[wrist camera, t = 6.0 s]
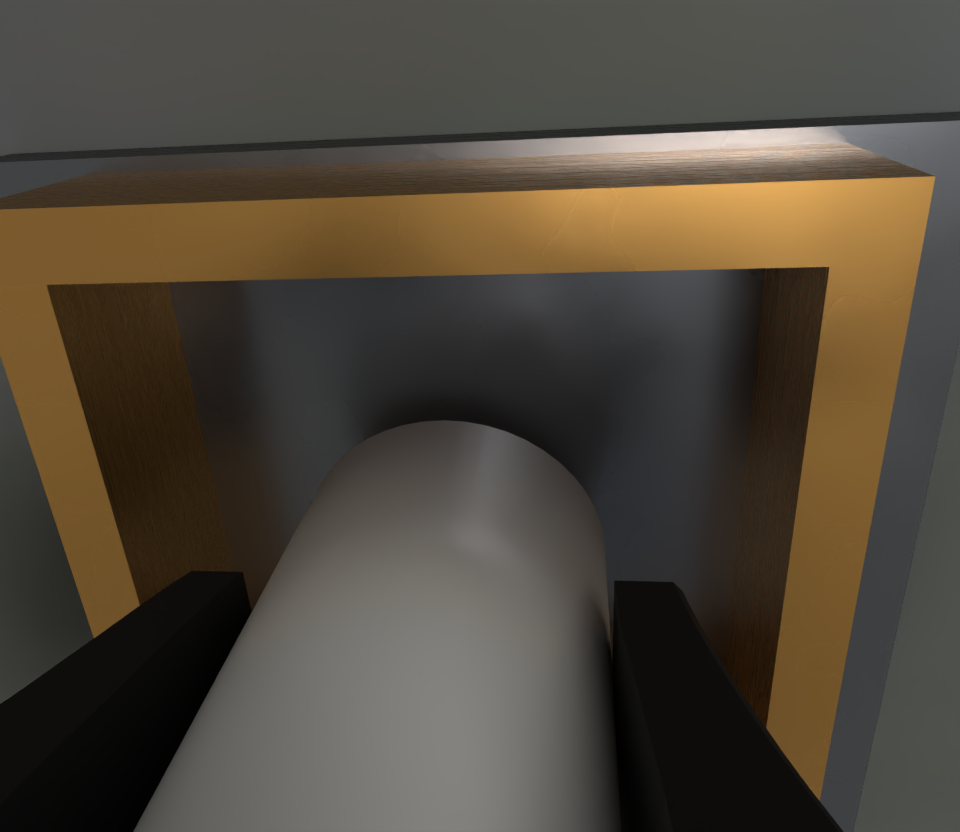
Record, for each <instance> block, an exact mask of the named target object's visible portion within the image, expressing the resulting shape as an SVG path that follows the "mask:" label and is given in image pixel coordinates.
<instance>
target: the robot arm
mask: <svg viewBox="0 0 960 832" xmlns="http://www.w3.org/2000/svg"><path fill="white" fill-rule="evenodd" d="M251 612H252V611H251V607H250V602H249V598H248V593H247V588H246V584H245V579H244V575H243V572H226V571H191V572H189V573H187V574H186V575H184V576H183V577H181V578H179V579H178V580H176V581H175V582H173V583H172V584H170V585H169V586H167V587H166V588H164V589H163V590H161V591H160V592H158V593H157V594H155V595H154V596H153V597H151V598H150V599H148V600H147V601H145V602H144V603H143V604H141V605H140V606H138V607H137V608H136V609H134V610H133V611H131V612H130V613H129V614H127V615H126V616H124V617H123V618H122V619H120V620H119V621H117V622H116V623H115V624H113V625H112V626H110V627H109V628H108V629H106V630H105V631H104V632H102V633H101V634H99V635H98V636H97V637H95V638H94V639H92V640H91V641H90V642H88V643H87V644H85V645H84V646H83V647H81V648H80V649H78V650H77V651H75V652H74V653H73V654H71V655H70V656H68V657H67V658H66V659H64V660H63V661H61V662H60V663H59V664H57V665H56V666H54V667H53V668H52V669H50V670H49V671H47V672H46V673H44V674H43V675H42V676H40V677H39V678H37V679H36V680H35V681H33V682H32V683H30V684H29V685H28V686H26V687H25V688H23V689H22V690H20V691H19V692H18V693H16V694H15V695H13V696H12V697H10V698H9V699H7V700H6V701H4V702H3V703H1V704H0V832H133V831H134V829H135V828H136V826H137V824H138V822H139V820H140V818H141V816H142V815H143V813H144V811H145V809H146V807H147V805H148V803H149V802H150V800H151V798H152V796H153V794H154V792H155V790H156V789H157V787H158V785H159V783H160V781H161V779H162V777H163V776H164V774H165V772H166V770H167V768H168V766H169V764H170V763H171V761H172V759H173V757H174V755H175V753H176V752H177V750H178V748H179V746H180V744H181V742H182V740H183V739H184V737H185V735H186V733H187V731H188V729H189V727H190V726H191V724H192V722H193V720H194V718H195V716H196V714H197V713H198V711H199V709H200V707H201V705H202V703H203V701H204V700H205V698H206V696H207V694H208V692H209V690H210V688H211V687H212V685H213V683H214V681H215V679H216V677H217V675H218V674H219V672H220V670H221V668H222V666H223V664H224V663H225V661H226V659H227V657H228V655H229V653H230V651H231V650H232V648H233V646H234V644H235V642H236V640H237V638H238V637H239V635H240V633H241V631H242V629H243V627H244V625H245V624H246V622H247V620H248V618H249V616H250V614H251ZM612 676H613V694H614V711H615V729H616V746H617V764H618V781H619V799H620V816H621V832H843V830H842V829H841V828H840V826H839V825H838V824H837V823H836V821H835V820H834V819H833V817H832V816H831V815H830V814H829V812H828V811H827V810H826V808H825V807H824V806H823V805H822V803H821V802H820V801H819V799H818V798H817V797H816V796H815V794H814V793H813V792H812V791H811V789H810V788H809V787H808V785H807V784H806V783H805V781H804V780H803V779H802V777H801V776H800V775H799V773H798V772H797V770H796V769H795V768H794V766H793V765H792V764H791V762H790V761H789V760H788V758H787V757H786V756H785V754H784V753H783V751H782V750H781V749H780V747H779V746H778V744H777V743H776V741H775V740H774V738H773V737H772V736H771V734H770V733H769V731H768V730H767V728H766V727H765V726H764V724H763V723H762V721H761V720H760V718H759V717H758V715H757V714H756V713H755V711H754V710H753V708H752V707H751V705H750V704H749V703H748V701H747V700H746V698H745V697H744V695H743V694H742V692H741V691H740V689H739V687H738V686H737V684H736V683H735V681H734V680H733V678H732V677H731V675H730V674H729V672H728V670H727V669H726V667H725V665H724V664H723V662H722V661H721V659H720V657H719V656H718V654H717V653H716V651H715V649H714V648H713V646H712V644H711V643H710V641H709V639H708V638H707V636H706V634H705V632H704V631H703V629H702V627H701V625H700V624H699V622H698V620H697V618H696V616H695V614H694V613H693V611H692V609H691V607H690V605H689V603H688V601H687V599H686V597H685V595H684V593H683V591H682V590H681V589H680V588H679V587H678V586H677V585H676V584H675V583H674V582H656V581H614V614H613V655H612Z"/></svg>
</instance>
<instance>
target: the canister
mask: <svg viewBox="0 0 960 832" xmlns="http://www.w3.org/2000/svg"><path fill="white" fill-rule="evenodd" d="M133 832H621V816H620V799H619V781H618V764H617V746H616V729H615V711H614V694H613V676H612V659H611V641H610V624H609V606H608V589H607V571H606V554H605V539H604V535H603V530H602V526H601V522H600V520H599V517H598V515H597V512H596V509H595V507H594V505H593V503H592V502H591V500H590V498H589V496H588V495H587V493H586V491H585V490H584V489H583V487H582V486H581V485H580V484H579V482H578V481H577V480H576V478H575V477H574V476H573V475H572V474H571V473H570V472H569V471H568V470H567V469H566V468H565V467H564V466H563V465H562V464H561V463H560V462H558V461H557V460H556V459H554V458H553V457H552V456H551V455H549V454H548V453H547V452H545V451H544V450H542V449H541V448H539V447H537V446H535V445H534V444H532V443H530V442H529V441H527V440H525V439H523V438H520V437H518V436H516V435H513V434H511V433H509V432H506V431H503V430H500V429H496V428H493V427H490V426H486V425H481V424H475V423H470V422H463V421H447V420H441V421H423V422H418V423H412V424H406V425H402V426H399V427H395V428H392V429H389V430H386V431H383V432H381V433H379V434H377V435H375V436H372V437H370V438H368V439H366V440H365V441H363V442H362V443H360V444H358V445H357V446H355V447H354V448H352V449H351V450H350V451H349V452H347V453H346V454H345V455H344V456H343V457H342V458H341V459H339V460H338V461H337V463H336V464H335V465H334V466H333V467H332V469H331V470H330V471H329V472H328V473H327V475H326V477H325V478H324V480H323V482H322V483H321V485H320V487H319V488H318V490H317V492H316V494H315V496H314V498H313V499H312V501H311V503H310V505H309V507H308V509H307V510H306V512H305V514H304V516H303V518H302V520H301V522H300V523H299V525H298V527H297V529H296V531H295V533H294V535H293V536H292V538H291V540H290V542H289V544H288V546H287V548H286V549H285V551H284V553H283V555H282V557H281V559H280V561H279V562H278V564H277V566H276V568H275V570H274V572H273V574H272V575H271V577H270V579H269V581H268V583H267V585H266V587H265V588H264V590H263V592H262V594H261V596H260V598H259V599H258V601H257V603H256V605H255V607H254V609H253V611H252V612H251V614H250V616H249V618H248V620H247V622H246V624H245V625H244V627H243V629H242V631H241V633H240V635H239V637H238V638H237V640H236V642H235V644H234V646H233V648H232V650H231V651H230V653H229V655H228V657H227V659H226V661H225V663H224V664H223V666H222V668H221V670H220V672H219V674H218V675H217V677H216V679H215V681H214V683H213V685H212V687H211V688H210V690H209V692H208V694H207V696H206V698H205V700H204V701H203V703H202V705H201V707H200V709H199V711H198V713H197V714H196V716H195V718H194V720H193V722H192V724H191V726H190V727H189V729H188V731H187V733H186V735H185V737H184V739H183V740H182V742H181V744H180V746H179V748H178V750H177V752H176V753H175V755H174V757H173V759H172V761H171V763H170V764H169V766H168V768H167V770H166V772H165V774H164V776H163V777H162V779H161V781H160V783H159V785H158V787H157V789H156V790H155V792H154V794H153V796H152V798H151V800H150V802H149V803H148V805H147V807H146V809H145V811H144V813H143V815H142V816H141V818H140V820H139V822H138V824H137V826H136V828H135V829H134V831H133Z"/></svg>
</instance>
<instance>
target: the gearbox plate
mask: <svg viewBox="0 0 960 832" xmlns="http://www.w3.org/2000/svg"><path fill="white" fill-rule="evenodd" d="M959 340H960V112H945V113H923V114H900V115H878V116H855V117H833V118H811V119H788V120H766V121H743V122H721V123H699V124H676V125H654V126H631V127H609V128H587V129H564V130H542V131H519V132H497V133H475V134H452V135H430V136H407V137H385V138H362V139H340V140H318V141H295V142H273V143H250V144H228V145H206V146H183V147H161V148H138V149H116V150H94V151H71V152H49V153H26V154H10V155H5V156H0V356H1V359H2V362H3V365H4V368H5V371H6V374H7V377H8V380H9V383H10V386H11V389H12V392H13V395H14V398H15V401H16V404H17V407H18V410H19V413H20V416H21V419H22V422H23V425H24V428H25V431H26V435H27V438H28V441H29V444H30V447H31V450H32V453H33V456H34V459H35V462H36V465H37V468H38V471H39V474H40V477H41V480H42V483H43V486H44V489H45V492H46V495H47V498H48V501H49V504H50V507H51V510H52V513H53V516H54V519H55V522H56V525H57V528H58V531H59V534H60V537H61V540H62V543H63V546H64V550H65V553H66V556H67V559H68V562H69V565H70V568H71V571H72V574H73V577H74V580H75V583H76V586H77V589H78V592H79V595H80V598H81V601H82V604H83V607H84V610H85V613H86V616H87V619H88V622H89V625H90V628H91V631H92V634H93V637H94V638H95V637H97V636H98V635H99V634H101V633H102V632H104V631H105V630H106V629H108V628H109V627H110V626H112V625H113V624H115V623H116V622H117V621H119V620H120V619H122V618H123V617H124V616H126V615H127V614H129V613H130V612H131V611H133V610H134V609H136V608H137V607H138V606H140V605H141V604H143V603H144V602H145V601H147V600H148V599H150V598H151V597H153V596H154V595H155V594H157V593H158V592H160V591H161V590H163V589H164V588H166V587H167V586H169V585H170V584H172V583H173V582H175V581H176V580H178V579H179V578H181V577H183V576H184V575H186V574H187V573H189V572H191V571H226V572H243V575H244V579H245V584H246V588H247V593H248V598H249V602H250V607H251V611H253V609H254V607H255V605H256V603H257V601H258V599H259V598H260V596H261V594H262V592H263V590H264V588H265V587H266V585H267V583H268V581H269V579H270V577H271V575H272V574H273V572H274V570H275V568H276V566H277V564H278V562H279V561H280V559H281V557H282V555H283V553H284V551H285V549H286V548H287V546H288V544H289V542H290V540H291V538H292V536H293V535H294V533H295V531H296V529H297V527H298V525H299V523H300V522H301V520H302V518H303V516H304V514H305V512H306V510H307V509H308V507H309V505H310V503H311V501H312V499H313V498H314V496H315V494H316V492H317V490H318V488H319V487H320V485H321V483H322V482H323V480H324V478H325V477H326V475H327V473H328V472H329V471H330V470H331V469H332V467H333V466H334V465H335V464H336V463H337V461H338V460H339V459H341V458H342V457H343V456H344V455H345V454H346V453H347V452H349V451H350V450H351V449H352V448H354V447H355V446H357V445H358V444H360V443H362V442H363V441H365V440H366V439H368V438H370V437H372V436H375V435H377V434H379V433H381V432H383V431H386V430H389V429H392V428H395V427H399V426H402V425H406V424H412V423H418V422H423V421H441V420H447V421H463V422H470V423H475V424H481V425H486V426H490V427H493V428H496V429H500V430H503V431H506V432H509V433H511V434H513V435H516V436H518V437H520V438H523V439H525V440H527V441H529V442H530V443H532V444H534V445H535V446H537V447H539V448H541V449H542V450H544V451H545V452H547V453H548V454H549V455H551V456H552V457H553V458H554V459H556V460H557V461H558V462H560V463H561V464H562V465H563V466H564V467H565V468H566V469H567V470H568V471H569V472H570V473H571V474H572V475H573V476H574V477H575V478H576V480H577V481H578V482H579V484H580V485H581V486H582V487H583V489H584V490H585V491H586V493H587V495H588V496H589V498H590V500H591V502H592V503H593V505H594V507H595V509H596V512H597V515H598V517H599V520H600V522H601V526H602V530H603V535H604V539H605V554H606V571H607V589H608V606H609V624H610V641H611V659H612V655H613V614H614V581H656V582H674V583H675V584H676V585H677V586H678V587H679V588H680V589H681V590H682V591H683V593H684V595H685V597H686V599H687V601H688V603H689V605H690V607H691V609H692V611H693V613H694V614H695V616H696V618H697V620H698V622H699V624H700V625H701V627H702V629H703V631H704V632H705V634H706V636H707V638H708V639H709V641H710V643H711V644H712V646H713V648H714V649H715V651H716V653H717V654H718V656H719V657H720V659H721V661H722V662H723V664H724V665H725V667H726V669H727V670H728V672H729V674H730V675H731V677H732V678H733V680H734V681H735V683H736V684H737V686H738V687H739V689H740V691H741V692H742V694H743V695H744V697H745V698H746V700H747V701H748V703H749V704H750V705H751V707H752V708H753V710H754V711H755V713H756V714H757V715H758V717H759V718H760V720H761V721H762V723H763V724H764V726H765V727H766V728H767V730H768V731H769V733H770V734H771V736H772V737H773V738H774V740H775V741H776V743H777V744H778V746H779V747H780V749H781V750H782V751H783V753H784V754H785V756H786V757H787V758H788V760H789V761H790V762H791V764H792V765H793V766H794V768H795V769H796V770H797V772H798V773H799V775H800V776H801V777H802V779H803V780H804V781H805V783H806V784H807V785H808V787H809V788H810V789H811V791H812V792H813V793H814V794H815V796H816V797H817V798H818V799H819V801H820V802H821V803H822V805H823V806H824V807H825V808H826V810H827V811H828V812H829V814H830V815H831V816H832V817H833V819H834V820H835V821H836V823H837V824H838V825H839V826H840V828H841V829H842V830H843V832H853V830H854V826H855V821H856V816H857V812H858V807H859V803H860V798H861V793H862V789H863V784H864V779H865V775H866V770H867V766H868V761H869V756H870V752H871V747H872V742H873V738H874V733H875V729H876V724H877V719H878V715H879V710H880V705H881V701H882V696H883V692H884V687H885V682H886V678H887V673H888V668H889V664H890V659H891V655H892V650H893V645H894V641H895V636H896V632H897V627H898V622H899V618H900V613H901V608H902V604H903V599H904V595H905V590H906V585H907V581H908V576H909V571H910V567H911V562H912V558H913V553H914V548H915V544H916V539H917V534H918V530H919V525H920V521H921V516H922V511H923V507H924V502H925V498H926V493H927V488H928V484H929V479H930V474H931V470H932V465H933V461H934V456H935V451H936V447H937V442H938V437H939V433H940V428H941V424H942V419H943V414H944V410H945V405H946V400H947V396H948V391H949V387H950V382H951V377H952V373H953V368H954V363H955V359H956V354H957V350H958V345H959Z"/></svg>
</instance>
